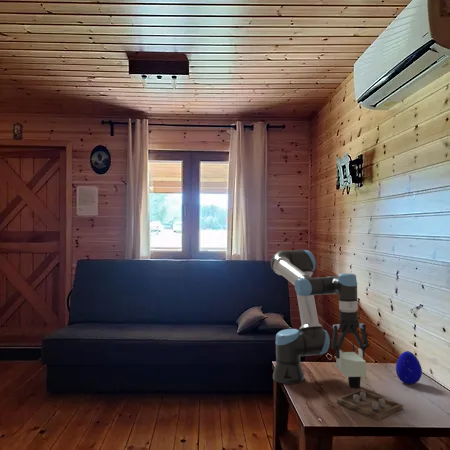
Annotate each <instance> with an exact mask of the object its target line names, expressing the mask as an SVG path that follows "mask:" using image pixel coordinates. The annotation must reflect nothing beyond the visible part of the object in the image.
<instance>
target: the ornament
mask: <svg viewBox="0 0 450 450" xmlns="http://www.w3.org/2000/svg"><path fill="white" fill-rule="evenodd" d="M422 369H423V368H422V366H421V362H420V360H419V359H418V357H417V356H416V355H415V354H414V353H413V352H411V351H409V350H406V351H404V352H402V353H400V355H399V357H398V359H397V360H396V364H395V372H396V376H397V377H398V379H399V380H400V382H402V383H404V384H407V385H414V384H416V383H418V382H419V381H420V380H421V377H422V374H423V370H422Z"/></svg>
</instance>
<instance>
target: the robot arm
mask: <svg viewBox="0 0 450 450" xmlns="http://www.w3.org/2000/svg"><path fill="white" fill-rule="evenodd" d="M270 267H271V270H273V273H275V274H277V275H278V276H282V277H284V279H286V280H287V281H288V282H289V283H291V284H292V285H293V286H294V290H295V291H294V292H296V297H297V304H298V310H299V317H300V323H301V326H300V327H299V329H297V328H287V329H285V328H284V329H282V330H280V331H278V332H277V333H276V334H275V343H274V344H275V356H276V357H275V358H276V359H275V362H276V363H275V366H274V369H273V370H274V371H273V373H272V380H273V381H275V382H276V383H279V384H284V385H296V384H300V383H303V382H304V381H305V374H304V371H303V368H302V365H301V357H307V356H319V355H325V354H326V353H327V352H328V350H329V348H331V349H332V350H334V351H335V359H336V358H338V365H339V366H340V367H342V352H343V351H342V350H341V347H342V345H343V342H344V340H345V337H346V336H347V334H353V336H354V338H355V340H356V342H357V345H358V346H359V348H357V351H358V352H357V354H358V355H359V356H360V357H361V358H362V359H364V358H365V356H366V355H365V354H366V353H365V352H366V349H369V348H370V345H369V341H368V335H367V331H366V330H367V329H366V328H367V325H366V324H365V323H363V322H362V323H360V322H359V311H358V310H359V307H358V305H359V303H358V282H357V281H358V280H357V275H356V274H355V273H350V272H349V273H348V272H347V273H346V272H345V273H339V274H338V275H337V276H335V275H329V276H324V277H323V276H322V277H312V275H313V274H314V271H315V269H316V258H315V256H314V254H313V253H312V252H311V250H309V249H296V250H295V249H293V250H290V249H289V250H280V251H277V252H276V253H275V254H274V255H272V257H271V260H270ZM321 295H322V296H323V295H338V309H339V312H338V314H339V323H338V324H334V323H333V324H332V336H331V339H330V335H329V333H328V331H327V330H325V329H324V328H323V325H322V324H320V322H319V317H318V311H317V307H316V300H315V296H321ZM339 328H340V329H339ZM358 328H359V329H360V333H361V337H360V334H359V332H358ZM338 330H340V333H339V331H338ZM338 333H339V334H338ZM338 335H339V337H338ZM361 338H362V339H361ZM330 340H331V343H330Z"/></svg>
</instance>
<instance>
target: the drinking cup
mask: <svg viewBox="0 0 450 450" xmlns="http://www.w3.org/2000/svg"><path fill="white" fill-rule="evenodd" d="M352 352H355V342H353V343H352ZM355 353H356V352H355ZM347 379H348V387H349V388H351V389H360V388H361V379H362V377H347Z"/></svg>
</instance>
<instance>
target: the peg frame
mask: <svg viewBox="0 0 450 450" xmlns="http://www.w3.org/2000/svg"><path fill="white" fill-rule="evenodd" d="M336 404H338V405H340V406H342V407H345V408H348V409H350V410H353V411H355V412H357V413H359V414H361V415H365V416H367V417H368V418H371V419H374V420H375V421H379V422H380V421H381V420H384V419H386V418H388V417H390V416H392V415H394V414H397V413H398V412H400V411H403V410H404V409H403V408H404V406H403V403H400V402H396V401H394V400H391V399H388V398H385V397H382V396H380V395H378V394H375V393H372V392H369V391H366V390H363V389H362V388H361V389H360V388H359V389H358V390H355V391H353V392H350V393H347V394H345V395H342V396H340V397H336Z"/></svg>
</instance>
